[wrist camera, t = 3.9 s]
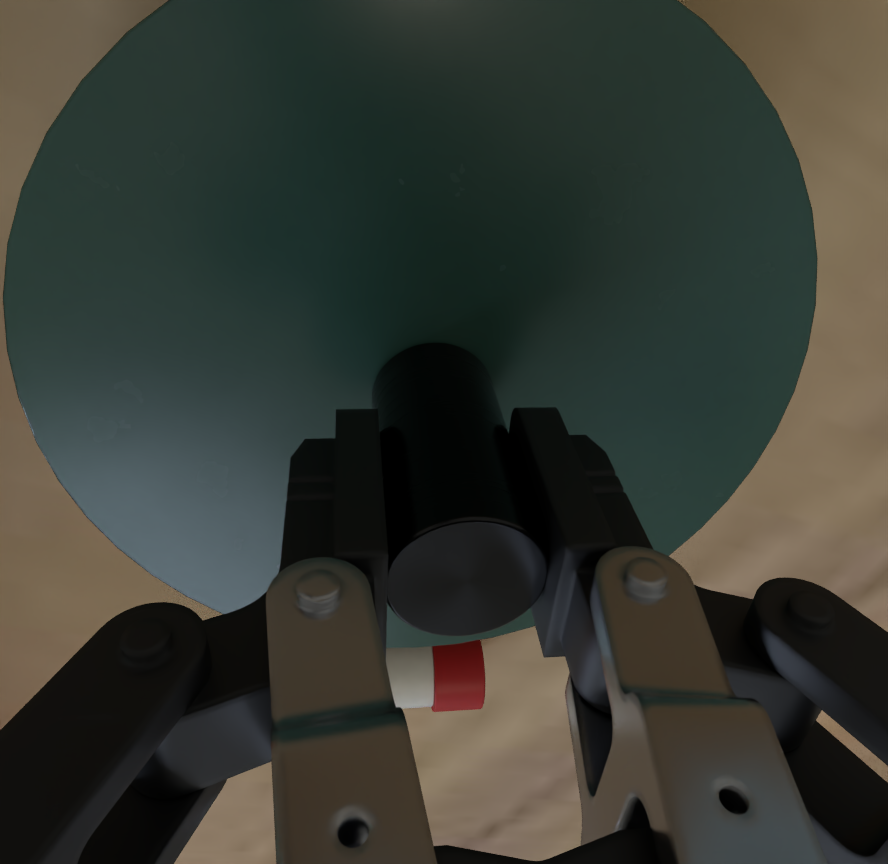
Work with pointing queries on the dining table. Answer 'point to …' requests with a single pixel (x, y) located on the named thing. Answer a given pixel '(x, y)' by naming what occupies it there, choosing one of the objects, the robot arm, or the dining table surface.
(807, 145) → the dining table surface
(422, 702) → the red and white gluestick
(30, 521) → the dining table surface
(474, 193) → the lid
